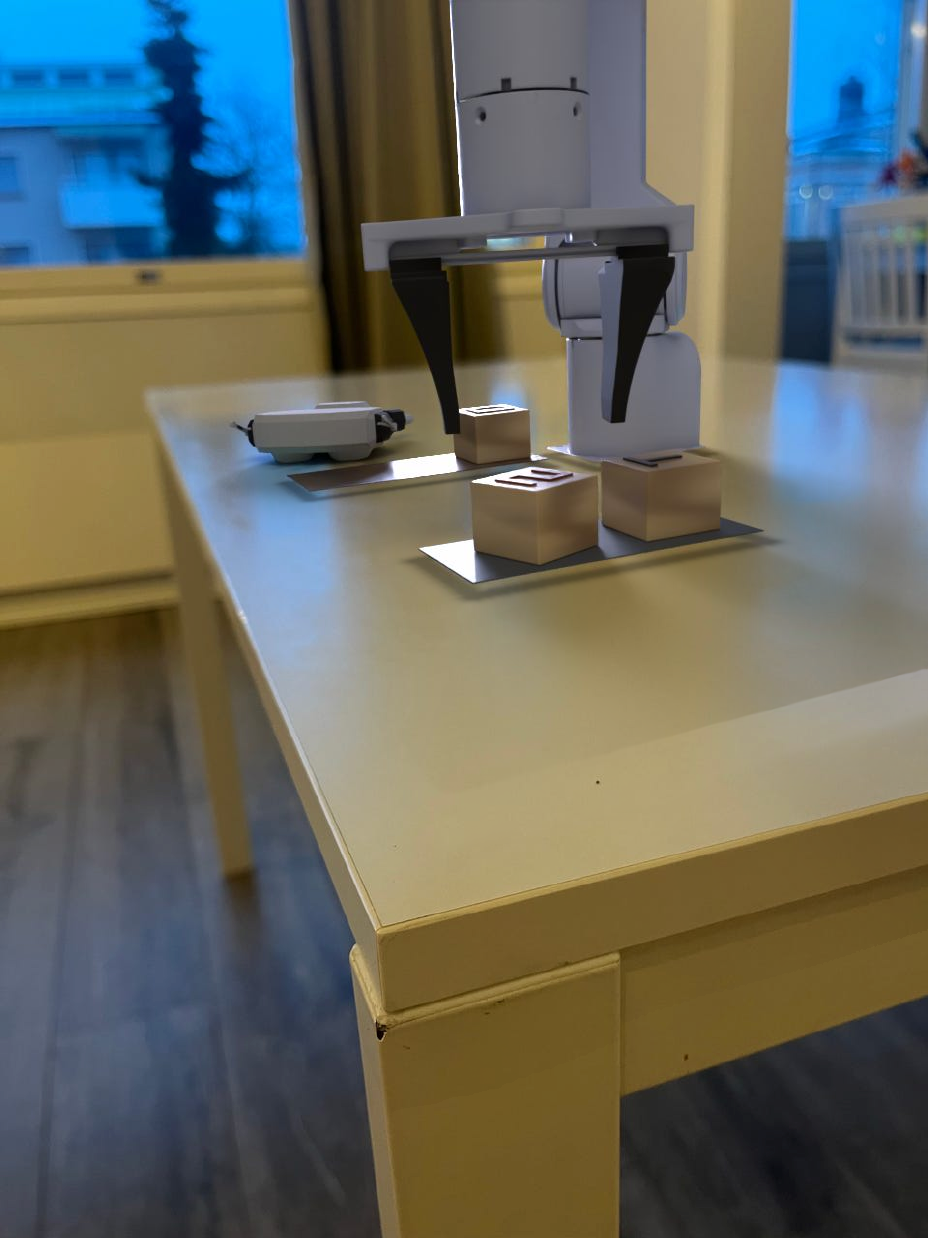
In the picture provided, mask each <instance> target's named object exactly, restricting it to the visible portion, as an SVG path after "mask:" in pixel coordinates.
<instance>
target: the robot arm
mask: <svg viewBox="0 0 928 1238" xmlns="http://www.w3.org/2000/svg"><path fill="white" fill-rule="evenodd" d="M449 9H450V10H449V12H450V29H451V46H452V47H451V49H452V65H453V68H452V69H453V83H454V85H453V86H454V103H455V104H454V105H455V119H456V121H455V122H456V139H457V140H456V141H457V155H458V158H457V159H458V175H459V177H458V178H459V193H460V210H461V211H460V213H461V215H458V216H456V215H455V216H447V217H446V216H444V217H434V218H431V217H430V218H421V219H409V220H407V219H406V220H395V221H381V222H379V221H378V222H366V223H365V222H364V223H361V224H360V232H361V244H362V255H363V266H364V267H363V268H364V271H365V272H378V271H379V272H380V271H389V272H390V275H389V277H390V284H391V287H392V288H393V290H394V292H395V293H396V294H395V295H396V296H397V297H398V300H399V301H400V303H401V306H402V308H403V310H404V311H405V314H406V316H407V318H408V320H409V322H410V324H411V326H412V328H413V331H414V333H415V335H416V337H417V340H418V342H419V344H420V347H421V350H422V353H423V354H424V357H425V359H426V362H427V365H428V368H429V371H430V374H431V377H432V380H433V384H434V387H435V390H436V395H437V398H438V402H439V407H440V412H441V418H442V426H443V432H444V435H447V436H448V435H449V436H450V435H453V434H461V432H460V411H459V409H460V406H459V405H460V404H459V398H458V391H457V383H456V377H455V368H454V358H453V343H452V341H453V340H452V319H451V318H452V317H451V295H450V293H451V291H450V282H449V280H448V271H447V270H446V269H444V270H443V268H442V267H451V266H466V265H467V266H468V265H469V266H470V265H484V264H498V263H499V264H500V263H503V264H504V263H516V262H519V263H520V262H533V261H543V262H542V269H541V271H542V272H541V293H542V295H541V296H542V303H543V310H544V311H543V312H544V316H545V318H546V321H547V322H548V324H550V325H551V327H552V328H553V330H555V331H557V332H558V331H559V332H560V337H561V338H566V339H565V340H566V375H567V376H566V378H567V379H566V380H567V381H566V385H567V388H566V389H567V423H568V424H567V426H568V427H567V433H568V436H567V437H568V444H562V445H555V446H548V447H547V450H549V451H554V452H558V453H560V454H564V455H568V456H572V457H576V458H579V459H583V460H586V461H590V462H593V463H601V460H602V459H606V458H614V457H621V456H628V455H635V454H643V453H650V452H657V451H664V450H676V451H680V452H683V451H690V450H698V449H704V448H706V445H702V444H700V434H701V433H700V431H701V396H702V394H701V393H702V392H701V391H702V364H701V358H700V354H699V351H698V348H697V345H696V343H695V341H693V339H692V338H691V337H690V336H689V335H688V334H686V333H684V332H682V331H678V330H670V327H672V326H673V327H674V326H677V325H678V324H679V322H680V321H681V320H682V319H683V318H684V317H685V315H686V314H685V313H686V307H687V292H688V252H689V253H691V252H693V251H694V247H695V246H694V245H695V244H694V243H695V205H694V204H693V203H691V204H676V203H675V202H674V201H672V200H671V199H670V198H668V196H666V195H664V194H663V193H661V192H660V191H658V190H657V189H656V188H654V187H653V186H651V184H649V182H647V17H648V16H647V10H648V9H647V0H449ZM539 237H540V238H541V237H544V247H543V248H542V247H541V248H540V247H539V248H525V249H524V248H523V249H509V250H508V249H507V250H492V251H473V252H472V251H471V252H461V251H462V250H470V249H471V250H472V249H483V248H484V247H487V246H488V241H489V240H507V239H508V240H509V239H510V240H511V239H525V238H527V239H528V238H539ZM669 330H670V331H669Z"/></svg>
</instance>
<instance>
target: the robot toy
mask: <svg viewBox="0 0 928 1238" xmlns="http://www.w3.org/2000/svg"><path fill="white" fill-rule="evenodd" d="M414 421H415V417H414V415H413V414H408V413H405V411H404V410H402V409H400V408H393V409H382V407H379V406H378V407H375V406H374V407H373V406H371V405H370V404H369V403H368V402H367V401H361V400H360V401H359V400H358V401H339V402H338V401H336V402H322V403H318V404H317V405H316V406H315V407H314V408H312V409H311V408H310V409H294V410H293V409H292V410H279V411H278V410H277V411H268V412H263V413H257V414H254V418H253V419H250V421H249V422H248V424H247V425H246V426H247V427H246V428H245V427H244V426H242V425H240V424H238V423H237V422H236V421H233V420H232V421H231V420H230V421H229V427H230V428H232V429H233V428H234V429H236V430H238V431H240V432H242V433H244V435H245V436H246V437H247V439H248V442H249V444H250V445H251V447H254V448H256V450H257V451H258V453H261V454H270V455H271V456H272V457H273V458H274V460H275V461H277V462H279V463H299V462H305V461H308V460H311V459H312V458H313V457H314V456H315V454H316V453H327V454H329V456H330V457H331V458H332V459H333V460H335V461H356V460H363V459H366V458H368V457H369V456H370V454H371V453H372V451H373V449H375V448H378V447H380V446H382V445H384V442H386V441H388V440H390V439H391V437H392V435H393V434H394V433H397V432H401V431H403V430H405V429H406V426H407V425H410V424H413V423H414Z"/></svg>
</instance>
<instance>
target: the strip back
mask: <svg viewBox="0 0 928 1238" xmlns="http://www.w3.org/2000/svg"><path fill="white" fill-rule="evenodd" d="M546 460H549V458H548V457H544V456H542V455H537V454H535V453H531V457H529V458H522V459H515V460H507V461H500V462H492V463H485V464H475V463H473V462H470V461H467V460H464V459H461V458H459V457H456V456H455V453H454V452H453V453H448V454H447V453H446V454H440V455H432V456H423V457H417V458H409V459H400V460H393V461H385V462H377V463H370V464H369V463H368V464H363V465H362V464H361V465H354V466H353V465H352V466H347V467H339V468H338V467H337V468H329V469H324V470H316V471H308V472H300V473H290V474H286V477H287V478H289V479H291V480H292V481H293V482H294V483H296V484H298V485H300V487H302V488H304V489H305V490H307V491H308V492H310V493H311V492H319V491H326V490H335V489H341V488H348V487H355V486H356V487H357V486H364V485H371V484H378V483H384V482H385V483H386V482H392V481H400V480H408V479H415V478H421V477H423V478H424V477H428V476H429V477H431V476H437V475H444V474H451V473H458V472H466V471H474V470H480V469H487V468H495V467H503V466H511V465H518V464H525V463H533V462H539V461H546Z"/></svg>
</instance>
